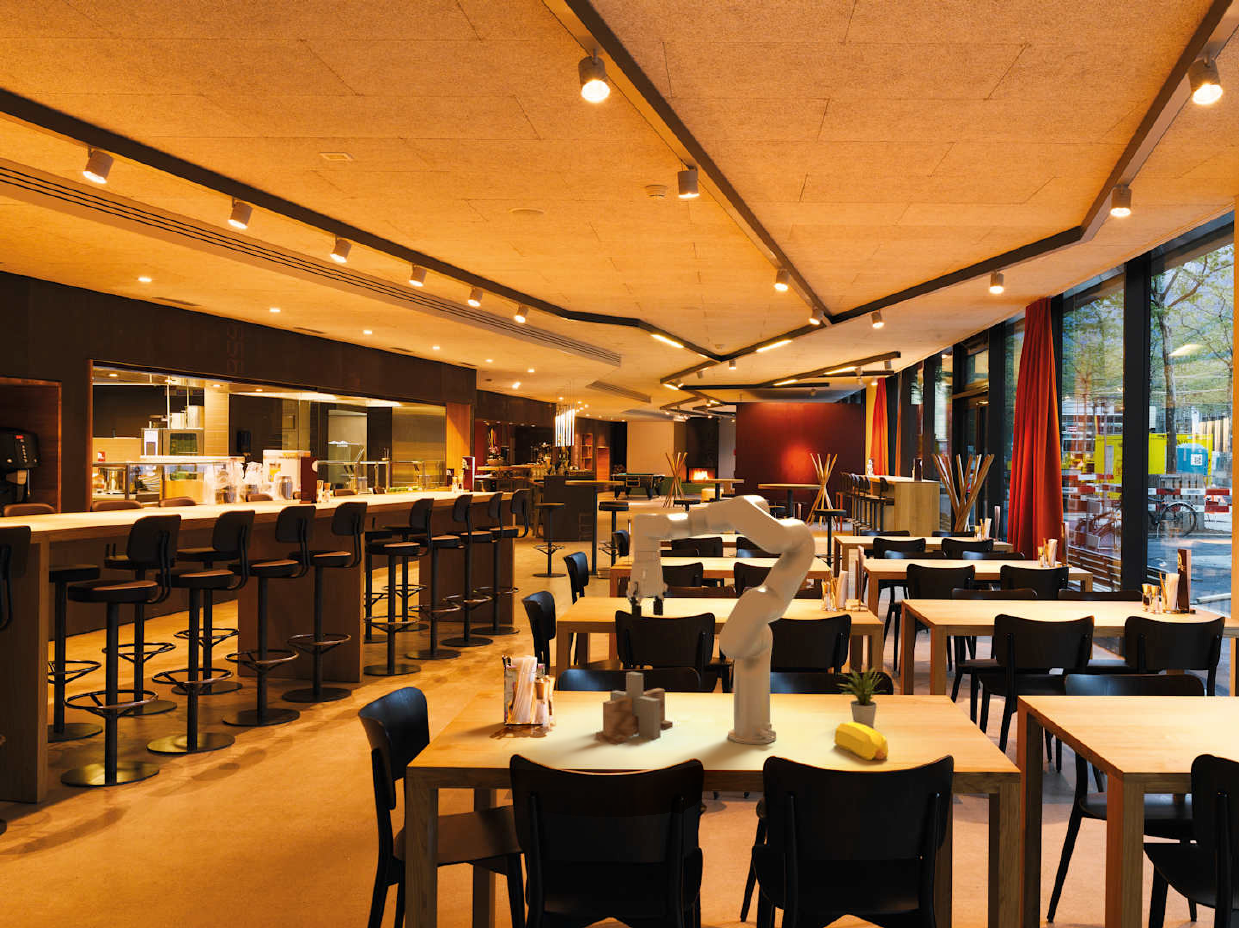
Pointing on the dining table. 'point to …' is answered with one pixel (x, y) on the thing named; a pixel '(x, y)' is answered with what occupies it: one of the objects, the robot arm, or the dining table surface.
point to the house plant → (863, 698)
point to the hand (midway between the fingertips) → (647, 617)
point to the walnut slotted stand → (627, 717)
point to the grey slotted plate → (641, 705)
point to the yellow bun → (861, 740)
